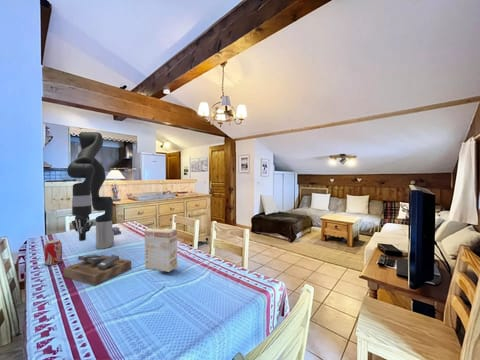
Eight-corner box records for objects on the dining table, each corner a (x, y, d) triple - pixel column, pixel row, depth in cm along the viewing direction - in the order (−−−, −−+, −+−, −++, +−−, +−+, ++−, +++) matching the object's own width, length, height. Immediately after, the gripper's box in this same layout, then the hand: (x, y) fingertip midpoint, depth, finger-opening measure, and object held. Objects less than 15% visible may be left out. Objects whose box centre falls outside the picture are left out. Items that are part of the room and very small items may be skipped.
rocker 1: (94, 258, 108) (95, 254, 109) (99, 259, 107) (100, 255, 107) (77, 259, 101) (78, 255, 102) (83, 260, 100) (84, 257, 100)
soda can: (51, 266, 109) (51, 243, 109) (41, 265, 110) (40, 242, 110) (65, 261, 116) (65, 239, 115) (55, 260, 117) (54, 238, 117)
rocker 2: (103, 260, 106) (104, 256, 106) (109, 261, 104) (109, 257, 104) (86, 261, 99) (87, 257, 99) (93, 263, 97) (93, 259, 97)
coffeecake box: (178, 266, 108) (177, 228, 108) (169, 272, 101) (168, 232, 101) (154, 262, 113) (154, 226, 113) (144, 268, 106) (144, 229, 106)
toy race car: (95, 238, 160) (95, 229, 160) (116, 234, 172) (116, 226, 172) (99, 240, 154) (99, 231, 154) (121, 236, 166) (121, 227, 166)
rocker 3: (113, 257, 103) (112, 254, 103) (119, 258, 102) (118, 255, 101) (97, 268, 96) (96, 265, 96) (104, 269, 95) (103, 266, 94)
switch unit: (102, 262, 114) (102, 253, 114) (131, 268, 106) (131, 258, 106) (63, 276, 98) (63, 266, 97) (94, 285, 89) (94, 274, 89)
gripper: (98, 204, 102) (99, 239, 102) (81, 203, 107) (82, 237, 107) (82, 206, 95) (82, 244, 95) (64, 205, 100) (65, 241, 100)
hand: (82, 240), depth 101 cm, fingers closed
